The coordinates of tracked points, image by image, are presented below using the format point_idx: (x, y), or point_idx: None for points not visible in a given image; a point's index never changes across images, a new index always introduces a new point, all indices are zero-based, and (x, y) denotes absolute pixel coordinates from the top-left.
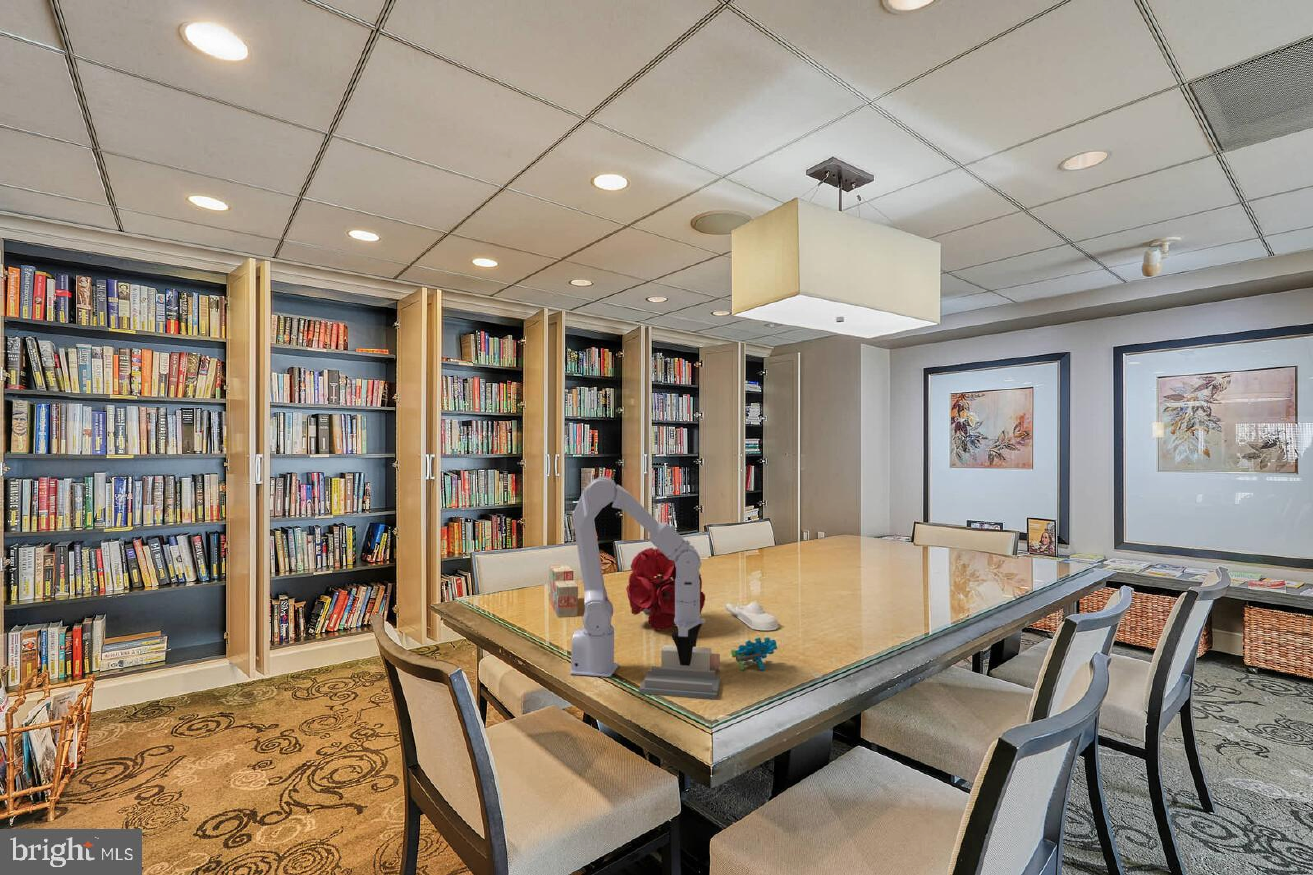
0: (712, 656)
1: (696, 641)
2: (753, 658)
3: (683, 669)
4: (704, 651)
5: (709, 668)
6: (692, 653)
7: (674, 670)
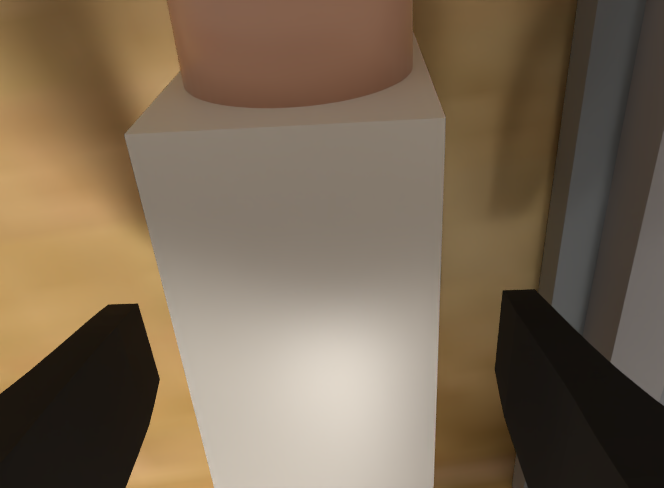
0: (355, 57)
1: (33, 389)
2: None
3: (660, 325)
4: (352, 215)
5: (419, 52)
6: (436, 349)
7: (659, 390)
